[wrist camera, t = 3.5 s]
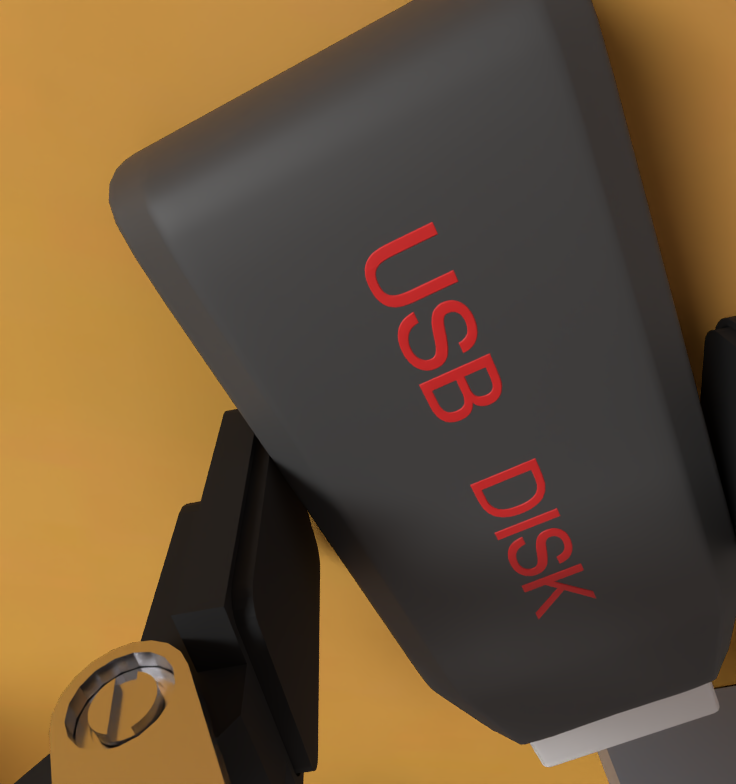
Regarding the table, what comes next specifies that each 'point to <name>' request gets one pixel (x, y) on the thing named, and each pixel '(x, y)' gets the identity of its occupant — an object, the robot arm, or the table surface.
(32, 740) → the table surface
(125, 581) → the table surface
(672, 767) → the clip
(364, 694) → the table surface
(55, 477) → the table surface
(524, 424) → the usb drive
